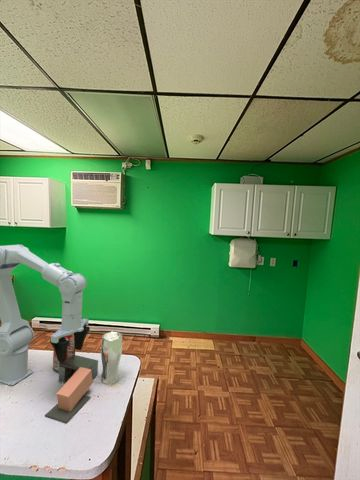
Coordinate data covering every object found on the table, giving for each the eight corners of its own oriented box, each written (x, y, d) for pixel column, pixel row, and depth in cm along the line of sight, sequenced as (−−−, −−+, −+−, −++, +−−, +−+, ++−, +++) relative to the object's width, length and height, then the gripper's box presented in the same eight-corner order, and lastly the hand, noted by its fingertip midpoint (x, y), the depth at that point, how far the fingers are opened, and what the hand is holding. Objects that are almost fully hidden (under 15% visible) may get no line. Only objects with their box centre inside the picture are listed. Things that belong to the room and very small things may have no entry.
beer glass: (96, 384, 78) (98, 339, 77) (103, 371, 85) (105, 330, 84) (116, 386, 77) (119, 341, 77) (123, 373, 84) (125, 332, 84)
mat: (44, 416, 64) (44, 415, 64) (71, 392, 73) (71, 391, 73) (66, 423, 62) (66, 422, 62) (90, 397, 71) (90, 396, 71)
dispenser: (58, 381, 78) (59, 363, 78) (73, 369, 85) (73, 353, 85) (84, 388, 76) (85, 370, 75) (97, 375, 82) (98, 358, 82)
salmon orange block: (58, 407, 66) (56, 393, 65) (81, 380, 76) (80, 366, 74) (70, 411, 65) (68, 396, 64) (92, 382, 75) (91, 369, 73)
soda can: (66, 374, 82) (67, 337, 81) (48, 370, 83) (49, 334, 83) (78, 363, 89) (80, 329, 88) (61, 360, 90) (63, 326, 90)
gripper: (65, 323, 67) (64, 370, 67) (96, 307, 81) (95, 346, 81) (45, 319, 69) (43, 365, 69) (79, 304, 83) (77, 342, 83)
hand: (70, 354), depth 75 cm, fingers open, 7 cm apart
